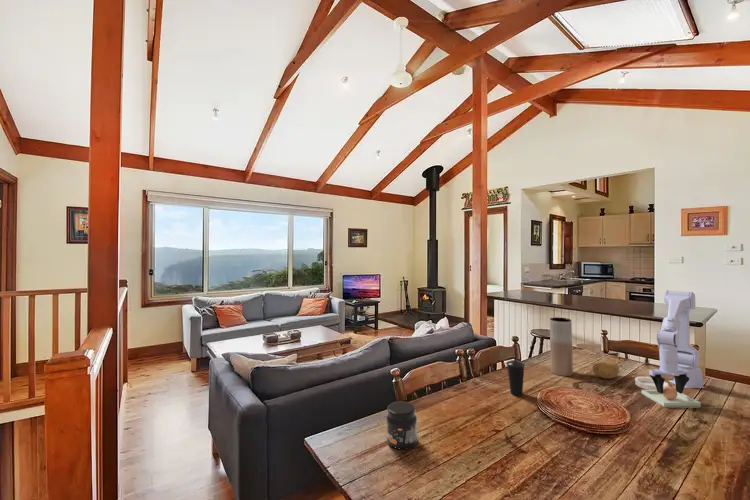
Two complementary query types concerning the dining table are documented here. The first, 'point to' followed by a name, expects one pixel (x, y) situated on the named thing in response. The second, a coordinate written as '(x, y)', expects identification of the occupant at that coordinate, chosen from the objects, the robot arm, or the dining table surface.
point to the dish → (647, 383)
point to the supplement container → (401, 425)
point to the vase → (561, 346)
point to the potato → (606, 369)
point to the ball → (669, 392)
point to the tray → (672, 400)
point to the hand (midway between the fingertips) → (669, 392)
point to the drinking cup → (515, 376)
